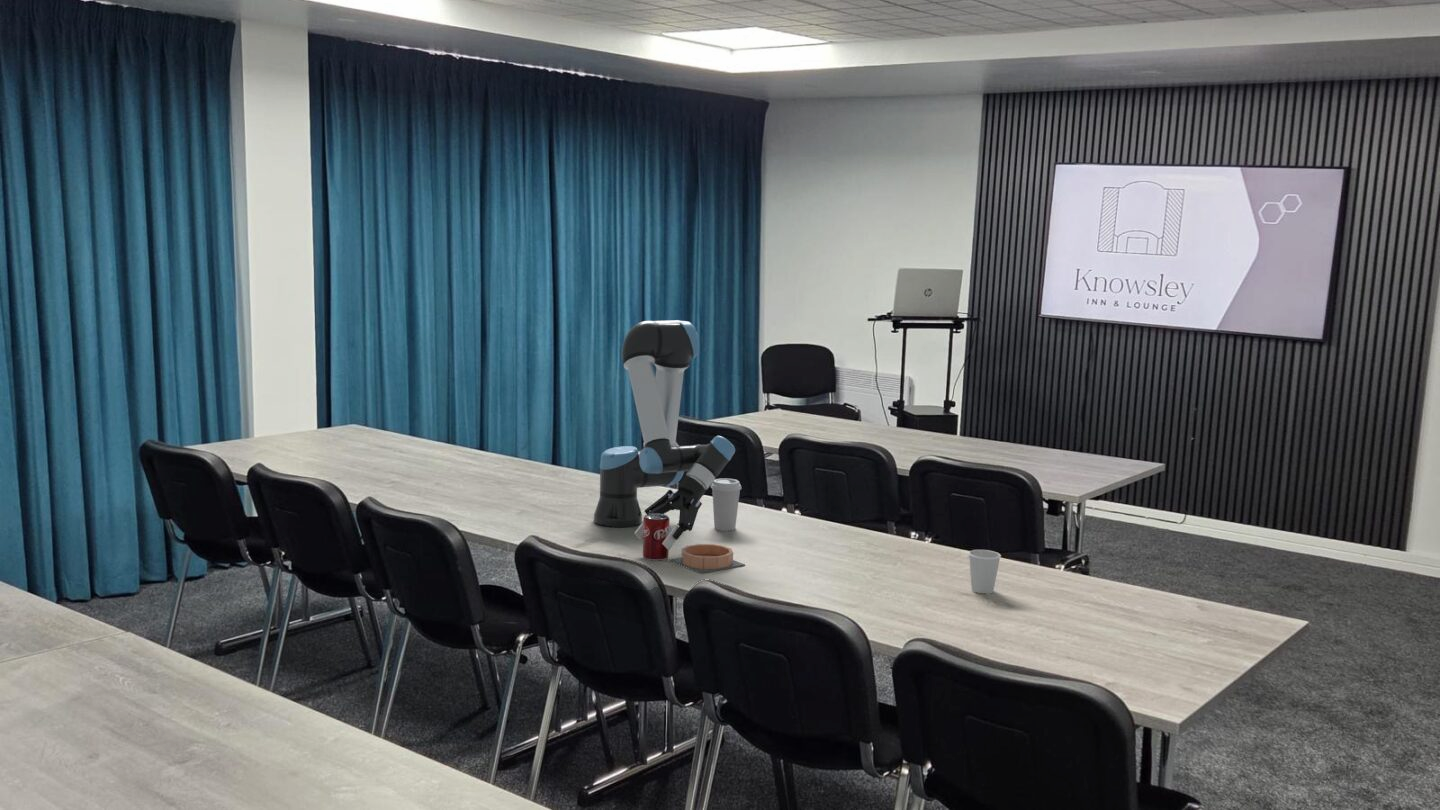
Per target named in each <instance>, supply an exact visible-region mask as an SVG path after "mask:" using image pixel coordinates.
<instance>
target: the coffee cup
mask: <svg viewBox="0 0 1440 810" xmlns="http://www.w3.org/2000/svg"><path fill="white" fill-rule="evenodd" d="M710 488H711V489H712V490H711V491H712V493H711V494H712V506H713V507H712V509H713V525H714V527H713V528H714V529H715V530H717V531H722V532H731V531H735V530H736V524H737V517H738V508H739V500H740V493H741V492H740V491H741V490H742V485H741V483H740V481H739V480H738V479H736V478H735V479H734V478H716V479H715V480H714V481H713V482H712V484H711V485H710ZM728 530H729V531H728ZM730 530H731V531H730Z"/></svg>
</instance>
